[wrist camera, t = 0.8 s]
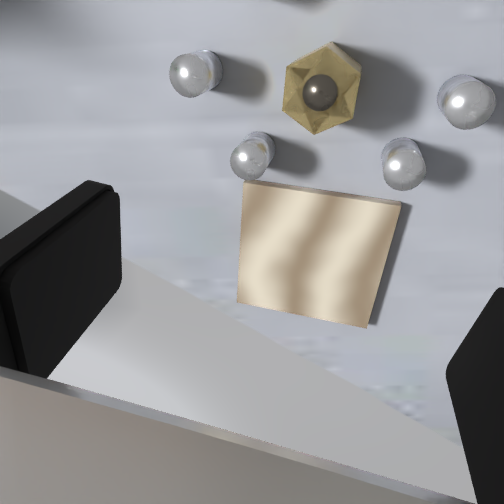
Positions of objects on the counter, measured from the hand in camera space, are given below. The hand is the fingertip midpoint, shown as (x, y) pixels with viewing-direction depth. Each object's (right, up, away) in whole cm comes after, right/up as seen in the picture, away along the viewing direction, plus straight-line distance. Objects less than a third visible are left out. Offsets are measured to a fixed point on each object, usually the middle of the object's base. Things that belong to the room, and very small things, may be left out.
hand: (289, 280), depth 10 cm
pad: (+5, 0, +30) cm, 30 cm away
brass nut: (+5, +14, +22) cm, 27 cm away
